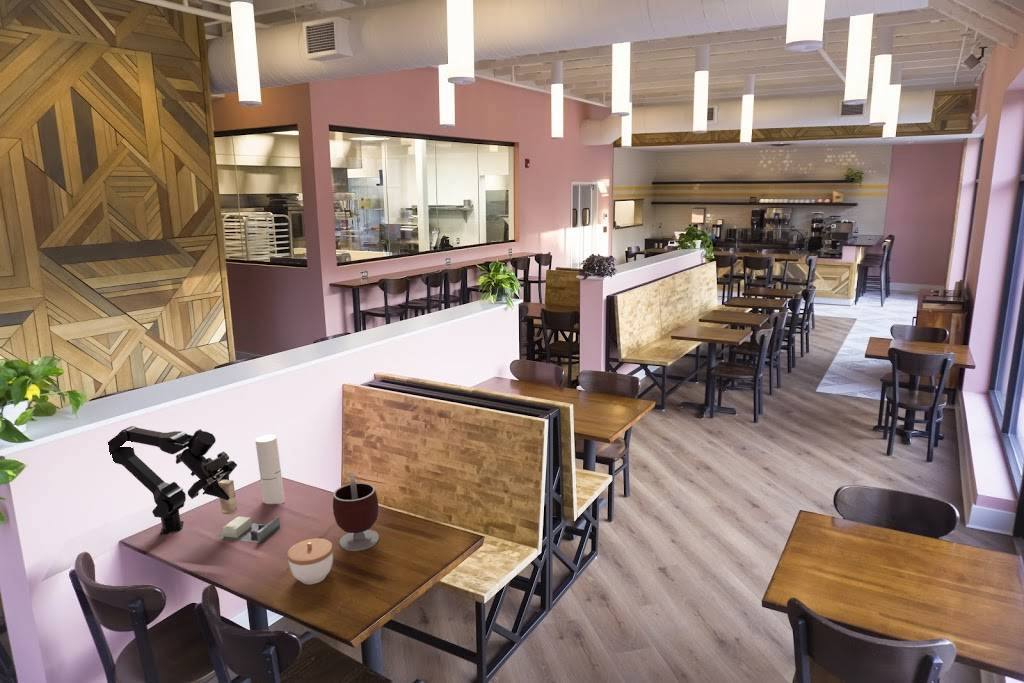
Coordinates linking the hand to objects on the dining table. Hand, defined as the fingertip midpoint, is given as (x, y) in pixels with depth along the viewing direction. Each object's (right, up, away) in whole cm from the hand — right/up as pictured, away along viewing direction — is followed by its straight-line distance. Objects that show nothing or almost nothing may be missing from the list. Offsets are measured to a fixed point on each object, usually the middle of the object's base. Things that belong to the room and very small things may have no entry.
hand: (231, 497), depth 222 cm
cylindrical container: (+5, -8, +25) cm, 27 cm away
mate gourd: (+42, -13, -3) cm, 44 cm away
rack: (+5, -13, +2) cm, 14 cm away
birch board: (-1, -5, +2) cm, 6 cm away
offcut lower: (+1, -12, +3) cm, 12 cm away
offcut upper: (+1, -10, +2) cm, 11 cm away
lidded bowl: (+34, -18, -24) cm, 45 cm away
